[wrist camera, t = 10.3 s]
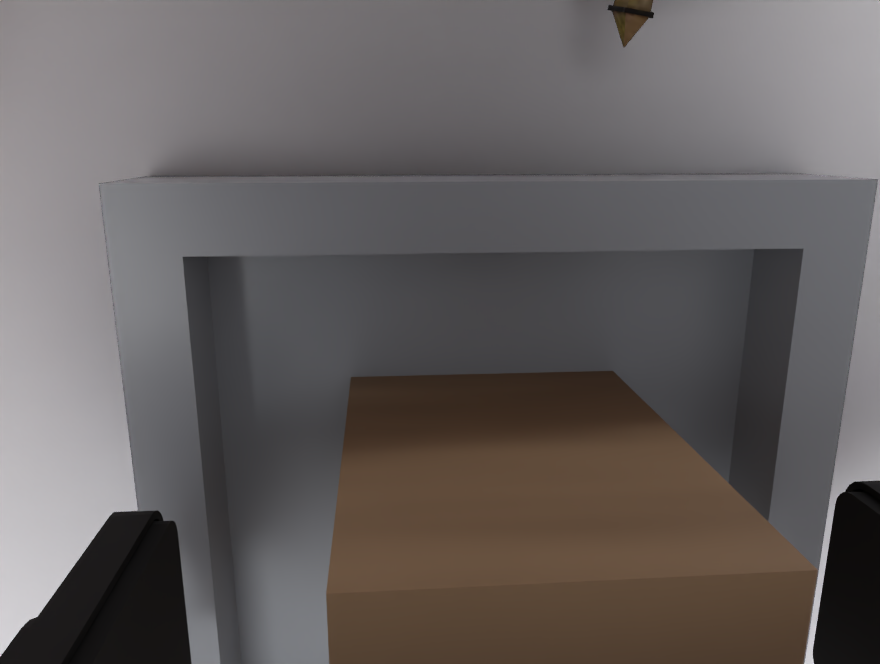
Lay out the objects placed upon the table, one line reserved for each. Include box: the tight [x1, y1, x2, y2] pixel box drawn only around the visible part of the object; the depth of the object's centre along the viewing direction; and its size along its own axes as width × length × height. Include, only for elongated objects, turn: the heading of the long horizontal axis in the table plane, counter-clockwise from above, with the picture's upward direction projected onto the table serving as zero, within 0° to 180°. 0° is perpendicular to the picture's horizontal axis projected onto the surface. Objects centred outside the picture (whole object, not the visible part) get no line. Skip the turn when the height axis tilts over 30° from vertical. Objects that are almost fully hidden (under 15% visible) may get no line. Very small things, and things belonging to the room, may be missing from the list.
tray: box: [99, 174, 878, 664], centre depth 12 cm, size 11×11×2 cm
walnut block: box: [326, 371, 818, 664], centre depth 10 cm, size 4×4×6 cm
